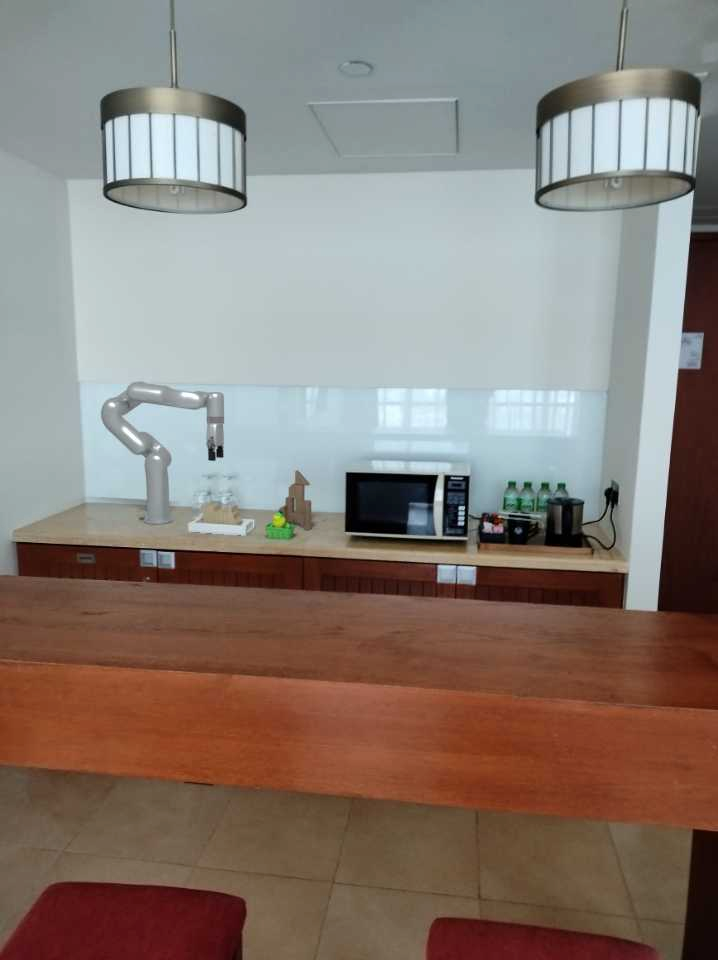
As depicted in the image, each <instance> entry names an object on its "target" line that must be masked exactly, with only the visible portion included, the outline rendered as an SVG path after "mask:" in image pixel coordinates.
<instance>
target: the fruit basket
mask: <svg viewBox="0 0 718 960" xmlns="http://www.w3.org/2000/svg"><path fill="white" fill-rule="evenodd" d="M272 517H273V518H272V522H269V523H268V524H267V525H265V526H264V529H265V531H266V535H267V538H268V539H274V540H286V541H289V540H290V539H292V538H293V535H294V533H295V528H296V524H292V523H291V524H288V523H286V524H285V521H286V519H285V518H284V517H283V516H282V514H281V513H278V512H277V513H275V514H274V515H273V516H272Z"/></svg>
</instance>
